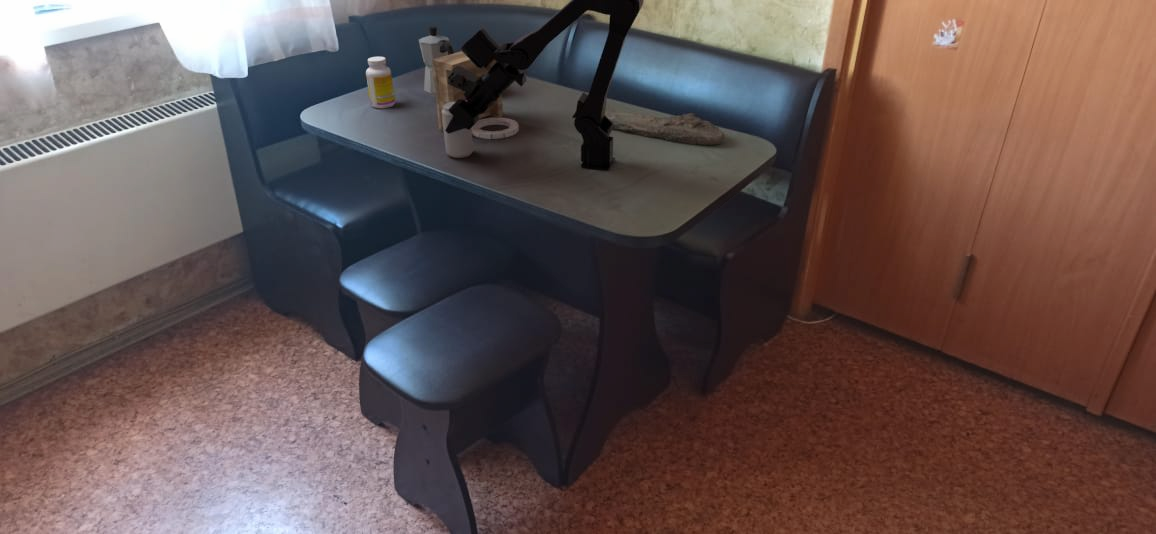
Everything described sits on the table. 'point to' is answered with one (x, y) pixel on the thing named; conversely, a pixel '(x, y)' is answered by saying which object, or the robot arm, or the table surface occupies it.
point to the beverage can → (456, 137)
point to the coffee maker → (433, 55)
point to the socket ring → (495, 134)
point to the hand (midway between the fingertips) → (451, 127)
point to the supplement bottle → (380, 83)
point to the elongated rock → (667, 127)
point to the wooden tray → (451, 93)
